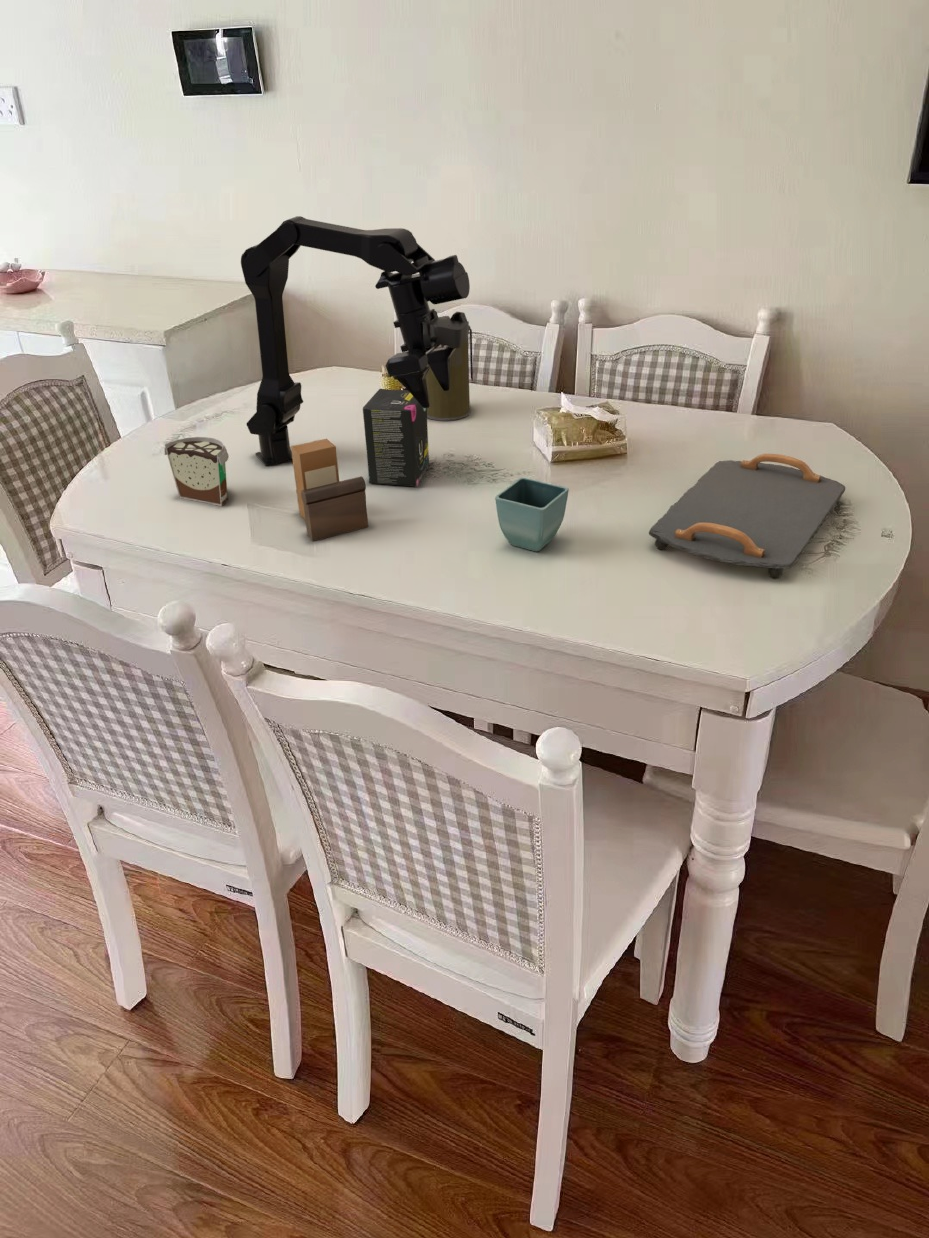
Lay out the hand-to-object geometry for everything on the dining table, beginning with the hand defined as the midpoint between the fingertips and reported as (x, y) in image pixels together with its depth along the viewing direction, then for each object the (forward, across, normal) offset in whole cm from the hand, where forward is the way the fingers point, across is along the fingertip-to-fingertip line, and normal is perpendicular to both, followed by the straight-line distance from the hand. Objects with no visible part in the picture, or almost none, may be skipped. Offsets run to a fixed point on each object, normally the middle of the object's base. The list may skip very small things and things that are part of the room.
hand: (437, 399), depth 169 cm
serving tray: (+29, 0, -49) cm, 57 cm away
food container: (+6, -19, +40) cm, 44 cm away
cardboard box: (+11, -20, +18) cm, 29 cm away
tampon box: (+13, 0, +12) cm, 18 cm away
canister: (+12, +33, +15) cm, 39 cm away
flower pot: (+21, -18, -19) cm, 33 cm away
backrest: (+13, -24, +12) cm, 30 cm away
